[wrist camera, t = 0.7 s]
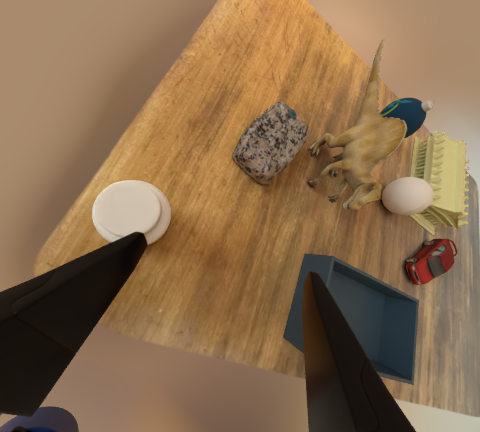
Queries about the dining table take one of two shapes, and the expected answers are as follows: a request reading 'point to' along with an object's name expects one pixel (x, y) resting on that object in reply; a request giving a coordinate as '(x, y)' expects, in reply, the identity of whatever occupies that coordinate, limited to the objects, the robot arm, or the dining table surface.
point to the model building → (441, 180)
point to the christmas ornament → (408, 112)
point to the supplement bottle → (131, 211)
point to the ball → (407, 196)
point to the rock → (271, 143)
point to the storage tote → (364, 315)
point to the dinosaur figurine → (362, 147)
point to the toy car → (430, 261)
